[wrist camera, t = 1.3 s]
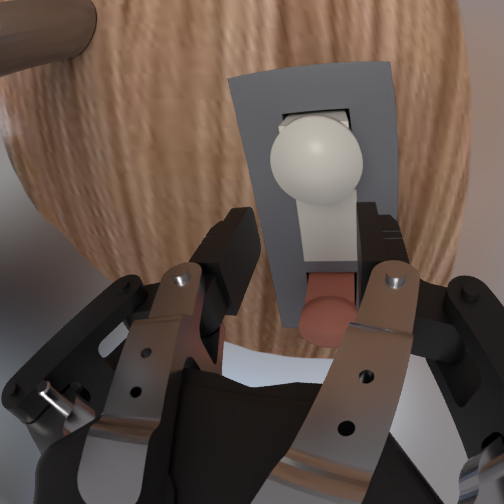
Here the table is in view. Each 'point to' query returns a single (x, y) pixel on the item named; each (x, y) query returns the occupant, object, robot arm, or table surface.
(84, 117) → the table surface
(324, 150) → the white plunger
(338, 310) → the red plunger
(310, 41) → the table surface
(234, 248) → the robot arm
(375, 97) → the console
